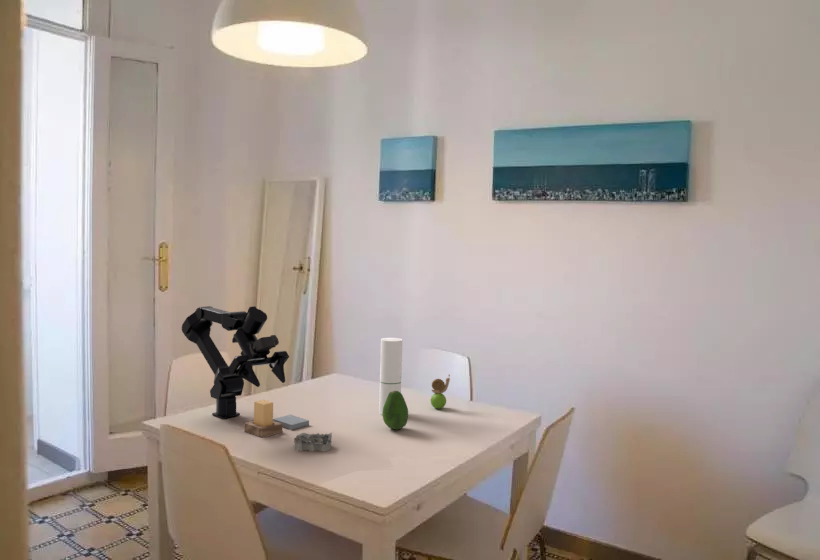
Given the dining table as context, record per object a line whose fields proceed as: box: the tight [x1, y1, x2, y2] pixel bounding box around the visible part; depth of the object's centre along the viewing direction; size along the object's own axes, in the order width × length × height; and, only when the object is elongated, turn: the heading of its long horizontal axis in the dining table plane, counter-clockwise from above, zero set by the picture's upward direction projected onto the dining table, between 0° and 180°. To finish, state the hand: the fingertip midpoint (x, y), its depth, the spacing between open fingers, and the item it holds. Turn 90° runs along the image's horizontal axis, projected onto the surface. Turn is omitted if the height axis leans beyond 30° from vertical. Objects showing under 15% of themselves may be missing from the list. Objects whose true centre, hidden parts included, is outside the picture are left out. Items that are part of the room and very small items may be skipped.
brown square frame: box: [243, 420, 283, 438], centre depth 200 cm, size 8×8×2 cm
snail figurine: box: [430, 374, 451, 410], centre depth 231 cm, size 5×6×12 cm
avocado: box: [381, 391, 409, 431], centre depth 206 cm, size 8×8×12 cm
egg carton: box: [293, 432, 333, 452], centre depth 187 cm, size 10×7×4 cm
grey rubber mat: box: [273, 414, 310, 431], centre depth 208 cm, size 9×7×2 cm
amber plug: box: [253, 399, 274, 427], centre depth 200 cm, size 4×4×9 cm
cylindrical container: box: [378, 337, 403, 416], centre depth 223 cm, size 7×7×25 cm
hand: (271, 384), depth 198 cm, fingers open, 9 cm apart
